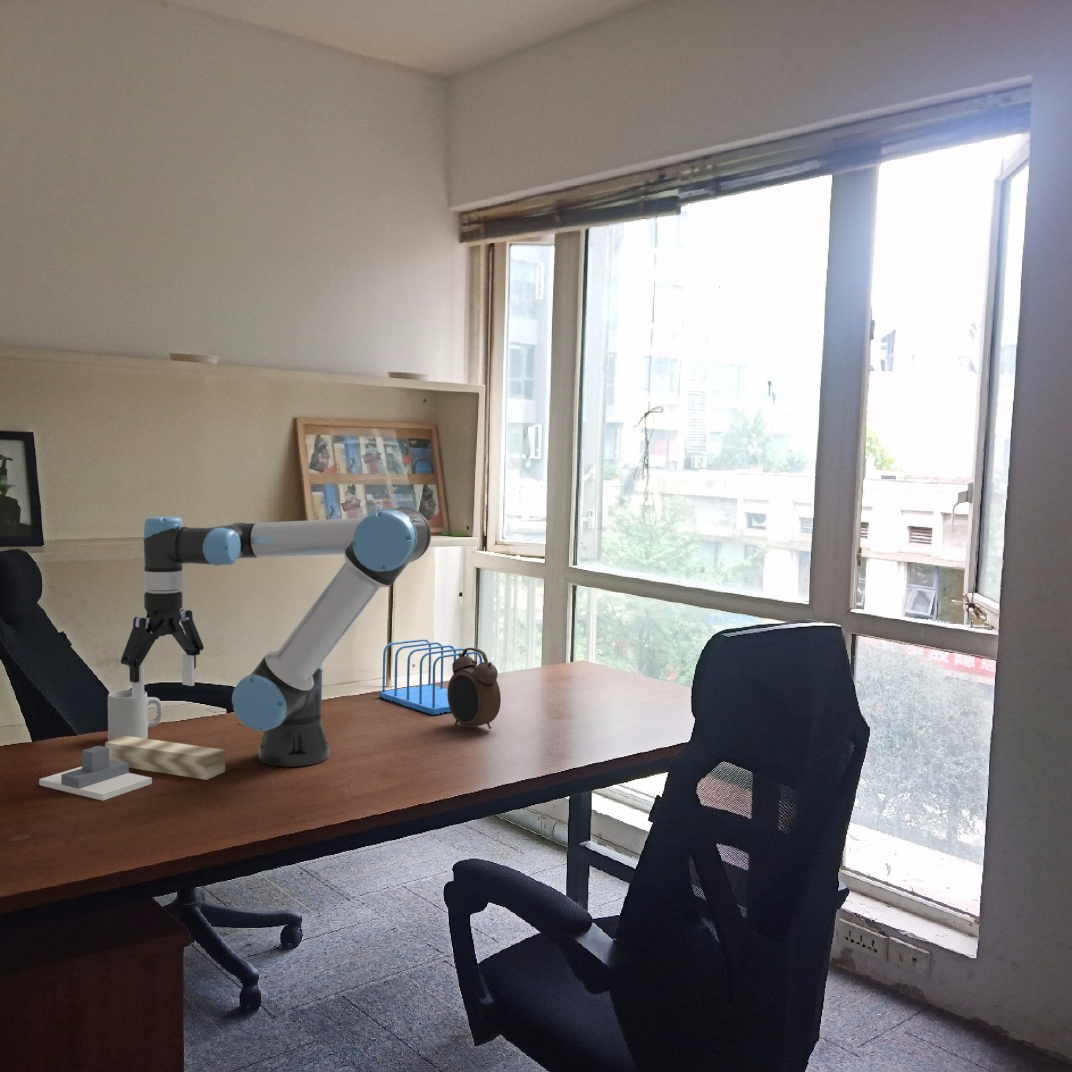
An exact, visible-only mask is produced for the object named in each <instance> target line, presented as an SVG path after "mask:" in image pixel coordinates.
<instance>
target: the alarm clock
mask: <svg viewBox="0 0 1072 1072" xmlns="http://www.w3.org/2000/svg"><path fill="white" fill-rule="evenodd" d="M463 649H464V650H463V651H462V652H458V653H459V656H458V657H456V660H455V661H454V660H453V662H452V664H451V665H452V669H451V670H452V673H453V674H452V675H451V677H450V679H449V682H448V685H447V689H448V690H447V697H448V704H449V707H450V710H451V712H450V713H451V715H452V716H453V718H454V719H455V723H454V726H455V727H456V726H458V723H459V724H460V725H461V726H463V727H467V728H469V727H474V728H475V730H476V734H477V733H478V734H480V731H479V727H480V726H483V725H487V728H488V729H489V730H492V726H491V725H490V723H491V722H494V720H496V718H497V716H498V714H499V711H500V708H501V701H502V699H501V691H500V687H499V683H498V681H497V680H498V675H499V671H498V669H497V668H496V666H495V665H494V664H493V663H492V662H491V661H489V660H488V657H487V655H486V653H485V652H484V651H483V650H481V649H479V648H475V647H467V648H463ZM468 651H471V652H478V653H479V654H480V655H481V657H482V663H480V662H479V664H478V661H476V660H474V659H473V657H471V656H470V655H469V656H466V655H465V654H466V652H468ZM461 653H462V654H461Z"/></svg>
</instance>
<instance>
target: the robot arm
mask: <svg viewBox="0 0 1072 1072" xmlns="http://www.w3.org/2000/svg"><path fill="white" fill-rule="evenodd" d="M143 530H144V531H143V538H142V541H143V550H144V551H143V555H144V556H143V557H144V559H143V560H144V565H143V569H144V571H143V573H144V574H143V576H144V577H143V578H144V580H143V587H144V589H145V591H146V592H144V595H143V597H144V599H143V600H144V601H143V604H144V606H143V607H144V609H145V611H146V616H145V617H139V616H135V617H133V620H132V630H130V635H129V637H128V640H127V642H126V645H125V648H124V650H123V653H122V656H121V659H120V664H121V665H125V666H128V668H129V682H130V683H131V690H132V697H135V698H141V699H142V698H144V691H145V666H144V665H143V666H142V664H143V662H144V660H145V658H146V657H147V655H148V653H149V651H150V650H151V648H152V647H153V645H154V643H155V641H156V640H158V639H159V638H160V637H165V636H166V635H168V636H169V635H172V637H173V638H174V639H175V641H176V642H177V643H178V644H179V646H180V648H182V650H183V651H184V654H181V655H182V662H181V664H182V666H181V667H182V670H181V672H182V678H181V679H182V681H181V682H182V683H181V684H182V685H185V686H189V687H190V686H191V687H193V686H195V669H196V667H197V656H199V655H200V654H201V651H204V647H205V646H204V643H203V641H202V638H201V637H200V634H199V632H198V629H197V627H196V625H195V621H194V619H193V611H192V610H190V609H182V608H183V592H182V591H181V589H183V564H197V565H210V566H211V565H212V566H217V567H218V566H229V565H230V566H231V565H233V564H235V563H236V561H237V560H238V559H254V558H256V559H257V558H273V557H274V558H275V557H276V558H277V557H300V556H301V557H302V556H303V557H304V556H305V557H306V556H323V555H324V556H325V555H326V556H327V555H328V556H329V555H333V556H334V555H344V559H345V560H344V561H345V562H344V564H343V565H342V566H341V568H340V569H339V570H338V572H337V573H336V574H335V576H334V577H333V578H332V579H331V581H330V582H329V583H328V585H327V586H326V587H325V589H324V590H323V592H321V594H320V595H319V597H318V598H317V599H316V600H315V602H314V604H313V605H312V606H311V607H310V608H309V610H308V611H307V613H305V615H304V616H303V617H302V619H301V620H300V622H299V623H298V624H297V625H296V627H295V628H294V629H293V631H292V632H291V633H290V635H289V636H288V638H286V640H285V642H284V643H283V644H282V645H281V647H280V648H279V650H274V651H273V650H272V651H268V652H267V653H265V655H264V657H263V658H262V659H261V661H260V662H259V663H258V664H257V666H256V667H255V668H254V670H253V671H252V672H251V674H249V675H246V676H245V677H243V678H241V680H240V681H239V682H238V683H237V684H236V685H235V688H234V689H233V692H232V694H231V695H232V696H231V702H232V703H231V704H232V707H233V711H234V714H235V716H236V717H237V719H238V720H239V722H241V723H242V724H243V725H244V726H246V727H247V728H249V729H251V730H252V731H253V730H254V731H258V732H263V735H262V739H261V744H260V745H259V747H258V760H259V761H260V762H261V763H263V764H266V765H268V766H275V767H283V768H285V767H290V768H291V767H305V766H310V765H315V764H319V763H321V762H324V761H325V760H328V758H330V744H329V742H328V740H327V736H326V734H325V728H324V726H323V723H322V722H323V721H322V708H323V707H322V705H323V703H322V700H323V699H322V698H323V697H322V696H323V695H322V694H323V693H322V689H323V688H322V687H323V671H324V669H323V668H322V663H323V662H324V661H325V660H326V658H327V657H328V656H329V654H331V652H332V650H334V648H335V647H336V645H337V644H338V643H339V641H340V640H342V638H343V637H344V635H345V634H346V632H347V631H348V630H349V629H350V627H351V626H352V625H353V623H355V621H356V619H358V617H359V615H360V614H361V613H362V612H363V611H364V609H365V608H366V607H367V606H368V604H369V602H371V600H372V599H373V598H374V596H375V595H376V593H377V592H378V591H379V590H380V589H381V588H388V587H391V586H392V585H393V584H394V582H395V581H396V580H397V579H398V578H399V576H400V575H401V573H403V571H404V569H406V567H407V566H408V565H409V564H410V563H413V562H415V561H416V560H418V559H420V558H421V557H423V555H425V553H426V552H427V550H428V549H429V547H430V545H431V544H430V543H431V541H432V540H431V539H432V530H431V526H430V523H429V522H428V519H427V518H426V517H425V516H424V515H423V514H422V513H420V512H419V511H417V510H416V509H415V508H411V507H403V506H402V507H401V506H400V507H396V508H384V509H379V510H376V511H373V512H371V513H369V514H368V515H366V516H365V517H357V518H356V517H355V518H353V517H352V518H334V519H316V520H315V519H312V520H291V521H275V522H273V521H272V522H271V521H270V522H269V521H268V522H255V523H253V522H251V523H249V522H248V523H246V522H237V523H233V524H227V525H220V526H212V527H186V526H184V524H183V519H182V518H181V517H179V516H171V515H169V516H166V515H165V516H164V515H163V516H149V517H147V518H146V519H145V521H144V527H143ZM180 623H181V624H180Z"/></svg>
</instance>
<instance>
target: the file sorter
mask: <svg viewBox="0 0 1072 1072" xmlns="http://www.w3.org/2000/svg"><path fill="white" fill-rule="evenodd" d="M422 642H424V643H422ZM425 642H426V643H425ZM409 643H412V644H409ZM413 643H415V644H413ZM417 643H418V644H417ZM401 644H409V645H402V646H400V647H398V649H397V650H396V652H395V656H394V689H389V690H386V655H387V649H388V648H389V647H391V646H395V645H401ZM433 645H438V646H433ZM425 646H428V647H425ZM416 647H421V648H416ZM408 648H409V649H411V648H414V649H413V650H412V651H410V652H409V653H408V657H407V661H406V662H407V666H406V668H407V669H406V670H407V671H406V687H402V688H398V657H399V653H400V652H401V651H402V650H403V649H408ZM444 648H446V649H444ZM447 648H450V649H447ZM437 649H440V650H437ZM464 649H465V648H462V647H461V648H455V647H454V646H453V645H449V644H445V645H442V644H441V643H440V642H437V641H436V642H430V641H429V640H427V639H424V638H423V639H422V638H421V639H415V640H414V639H412V640H404V641H395V642H389V643H388V644H386V645H385V647H384V649H383V653H382V655H383V657H382V691H379V692H378V698H379V697H383V698H384V699H383V700H385V699H387V700H386V701H388V700H390V701H389V702H392V701H395V702H397V703H396V704H398V703H400V704H399V705H401V704H402V705H401V706H404V707H407V708H410V707H411V709H413V710H417V711H420V712H422V713H425V712H426V714H430V715H432V716H435V714H436V715H441V714H440V713H442V714H445V713H444V712H447V713H451V710H450V707H449V704H448V697H447V690H448V688H445V687H443V686H444V685H443V683H444V659H445V658H450V657H453V662H454V661H455V660H456V659H457V656H458V657H459V653H461V654H462V653H463V650H464ZM432 650H434V651H432ZM435 650H436V651H435ZM422 651H428V652H426V653H425V654H423V655H422V657H421V658H420V661H419V685H417V686H418V687H416V686H410V673H411V672H410V670H411V669H410V665H411V657H412V655H413V654H414V653H416V652H422ZM459 651H461V652H459ZM450 652H451V653H452V652H453V653H452V654H445V653H450ZM457 652H458V653H457ZM434 654H440V656H437V658H436V659H435V660H434V662H433V664H432V655H434ZM475 654H476V656H478V657H479V664H480V663H482V662H483V657H482V655H481V654H480V653H478V652H476V651H469V652H468V651H467V652H466V654H465V656H469V657H470V655H475ZM427 656H428V677H427V678H428V681H427V683H428V684H424V685H423V663H424V659H425V658H426V657H427ZM439 660H440V686H438V685H436V665H437V662H438V661H439ZM431 677H432V680H431ZM431 681H432V684H431ZM395 702H394V703H395Z"/></svg>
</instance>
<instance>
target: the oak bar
mask: <svg viewBox="0 0 1072 1072" xmlns="http://www.w3.org/2000/svg"><path fill="white" fill-rule="evenodd" d="M104 747H107V748H109V760H111V759H112V760H117V761H121V762H126V763H129V769H134V768H135V769H136V770H141V771H149V772H154V773H160V774H161V773H162V774H168V775H173V776H180V777H187V778H192V779H200V780H206V781H207V780H209V779H212V778H214V777H216V776H218V775H221V774H223V773H225V772H226V749H221V748H215V747H210V746H209V747H208V746H200V745H194V744H186V743H180V742H172V741H166V740H158V739H152V738H147V739H145V738H138V737H131V736H123V737H120V738H117V739H114V740H111V741H108V740H107V741H105V744H104Z"/></svg>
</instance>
